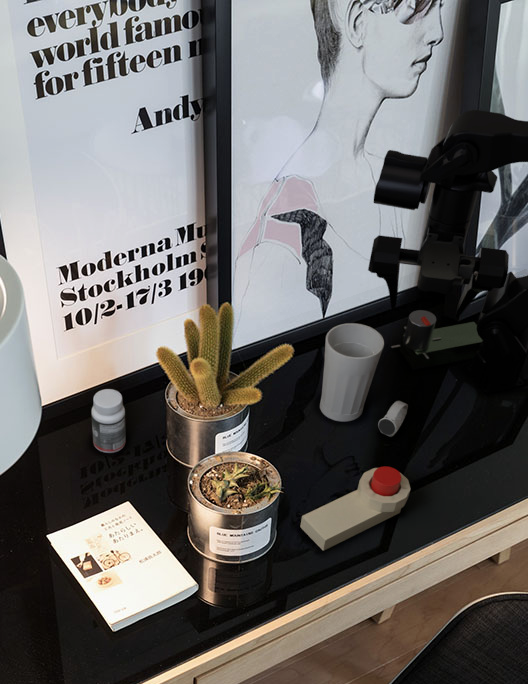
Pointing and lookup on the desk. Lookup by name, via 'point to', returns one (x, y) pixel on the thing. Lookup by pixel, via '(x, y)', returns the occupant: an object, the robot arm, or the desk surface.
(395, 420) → the grey short cylinder
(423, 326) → the dial
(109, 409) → the pill bottle
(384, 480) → the power button
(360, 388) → the cup
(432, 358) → the dial panel
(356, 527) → the button base
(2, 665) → the desk surface
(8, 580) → the desk surface
